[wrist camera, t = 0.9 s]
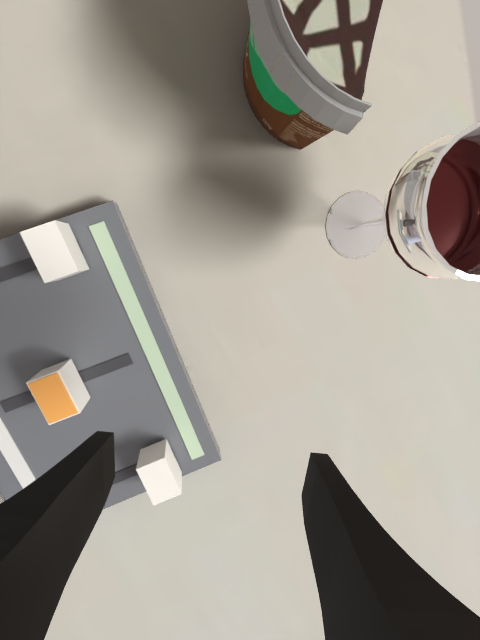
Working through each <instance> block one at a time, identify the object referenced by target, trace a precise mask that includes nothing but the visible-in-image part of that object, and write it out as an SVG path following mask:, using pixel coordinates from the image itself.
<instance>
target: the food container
mask: <svg viewBox="0 0 480 640" xmlns="http://www.w3.org/2000/svg"><path fill="white" fill-rule="evenodd" d="M382 2H383V0H247V4H248V9H249V15H250V20H251V22H250V27H249V33H248V39H247V44H246V50H245V56H244V64H243V79H244V87H245V91H246V96H247V98H248V101H249V104H250V106H251V108H252V110H253V112H254V114H255V116H256V118H257V119H258V120H259V122H260V123H261V124H262V126H263V127H264V128H265V129H266V130H267V131H268V132H269V133H270V134H271V135H273V136H274V137H275V138H277V139H278V140H279V141H281V142H283V143H285V144H287V145H289V146H291V147H294V148H298V149H303V148H304V147H306V146H308V145H309V144H311V143H313V142H314V141H316V140H318V139H320V138H321V137H323V136H325V135H326V134H328V133H330V132H331V131H333V130H336V131H339V132H342V133H345V134H348V133H349V132H350V131H351V130H352V129H353V128H354V127H355V126H356V125H357V123H358V122H359V121H360V120H361V119H362V118H363V113H364V112H365V111H366V110H367V109H368V108H370V107H371V104H370V103H367V102H365V101H362V96H363V93H364V84H365V77H366V71H367V67H368V62H369V57H370V52H371V48H372V43H373V39H374V35H375V30H376V26H377V22H378V17H379V13H380V10H381V6H382Z"/></svg>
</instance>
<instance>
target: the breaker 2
mask: <svg viewBox="0 0 480 640" xmlns="http://www.w3.org/2000/svg"><path fill="white" fill-rule="evenodd" d="M136 471H137V473H138V475H139V477H140V479H141V481H142V483H143V485H144V487H145V489H146V491H147V493H148V495H149V497H150V499H151V501H152V503H153V505H157V504H159V503H161V502H164V501H166V500H168V499H171V498H173V497H175V496H178V495H180V494H182V472H181V469H180V467H179V465H178V463H177V461H176V458H175V456H174V454H173V452H172V450H171V447H170V445H169V443H168V441H167V439H165V440H162V441H160V442H157V443H155V444H152V445H150V446H148V447H145V448H143V449H140V453H139V458H138V462H137V467H136Z"/></svg>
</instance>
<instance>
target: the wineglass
mask: <svg viewBox="0 0 480 640" xmlns="http://www.w3.org/2000/svg"><path fill="white" fill-rule="evenodd" d="M326 232H327V238H328V240H329V242H330V244H331V246H332V247H333V248H334V249H335V250H336V251H337V252H338V253H339V254H341V255H343V256H345V257H347V258H355V259H357V258H362V257H366V256H367V255H369V254H371V253H373V252H374V251H375V250H376V249H377V248H378V247H379V246H380V244H381V243H382V241H383V239H384V237H385V236H386V238H387V241H388V243H389V245H390V247H391V249H392V251H393V252H394V253H395V254H396V255H397V256H398V257H399V258H400V259H401V260H402V262H404V263H405V264H406V266H407V267H409V268H411V269H413V270H415V271H417V272H418V273H420V274H422V275H424V276H426V277H433V278H441V279H450V280H453V279H459V278H464V279H468V280H477V281H480V121H478V122H477V123H475V124H473V125H472V126H470V127H468V128H466V129H465V130H463V131H461V132H460V133H457V134H452V135H446V136H442V137H440V138H438V139H437V140H435V141H433V142H431V143H430V144H428V145H426V146H425V147H423V148H422V149H420V150H419V151H417V152H416V153H415V154H413V155H412V156H411V157H410V159H409V160H408V161H407V162H406V163H405V164H404V165H403V166H402V167H401V169H400V170H399V171H398V172H397V174H396V175H395V177H394V178H393V180H392V183H391V185H390V187H389V189H388V191H387V193H386V195H385V201H384V207H383V205H382V204H381V203H380V201H379V200H378V199H377V198H376V197H375V196H373V195H371V194H369V193H367V192H362V191H354V192H349V193H347V194H345V195H343V196H342V197H340V198H339V199H338V200H337V201H336V202H335V203H334V204H333V205H332V207H331V209H330V211H329V213H328V215H327V221H326Z"/></svg>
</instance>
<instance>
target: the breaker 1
mask: <svg viewBox="0 0 480 640" xmlns="http://www.w3.org/2000/svg"><path fill="white" fill-rule="evenodd" d="M20 234H21V236H22V239H23V241H24V243H25V245H26V247H27V249H28V251H29V253H30V255H31V257H32V259H33V261H34V263H35V265H36V267H37V269H38V271H39V273H40V275H41V277H42V279H43V281H44V283H49V282H53V281H58V280H61V279H64V278H67V277H70V276H72V275H75V274H78V273H81V272H84V271H86V270H89V267H88V265H87V263H86V261H85V258H84V256H83V254H82V252H81V250H80V247H79V245H78V243H77V241H76V239H75V236H74V234H73V232H72V230H71V228H70V225H69V224H68V223H64V222H60V221H56V220H53V221H51V222H48V223H45V224H42V225H39V226H36V227H33V228H30V229H27V230H24V231H21V232H20Z"/></svg>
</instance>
